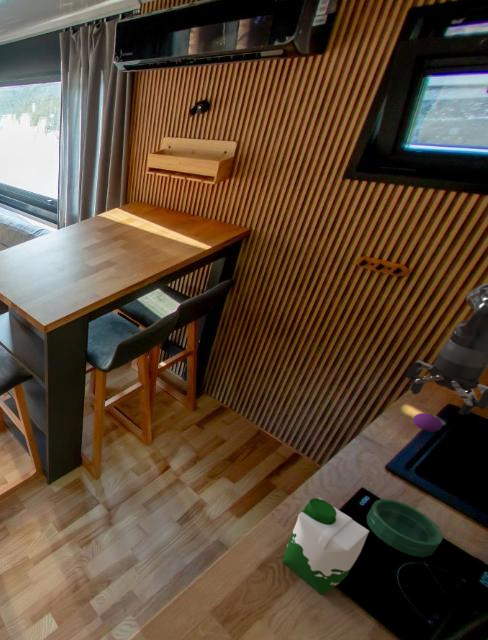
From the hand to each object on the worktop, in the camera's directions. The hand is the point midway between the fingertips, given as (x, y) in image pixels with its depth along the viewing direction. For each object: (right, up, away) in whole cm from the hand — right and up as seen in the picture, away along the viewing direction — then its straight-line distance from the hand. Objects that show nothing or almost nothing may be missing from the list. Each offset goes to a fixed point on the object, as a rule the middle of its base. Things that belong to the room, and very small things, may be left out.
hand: (437, 402), depth 100 cm
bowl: (-33, -26, -17) cm, 45 cm away
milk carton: (-56, -32, -20) cm, 68 cm away
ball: (+2, -7, +3) cm, 8 cm away
